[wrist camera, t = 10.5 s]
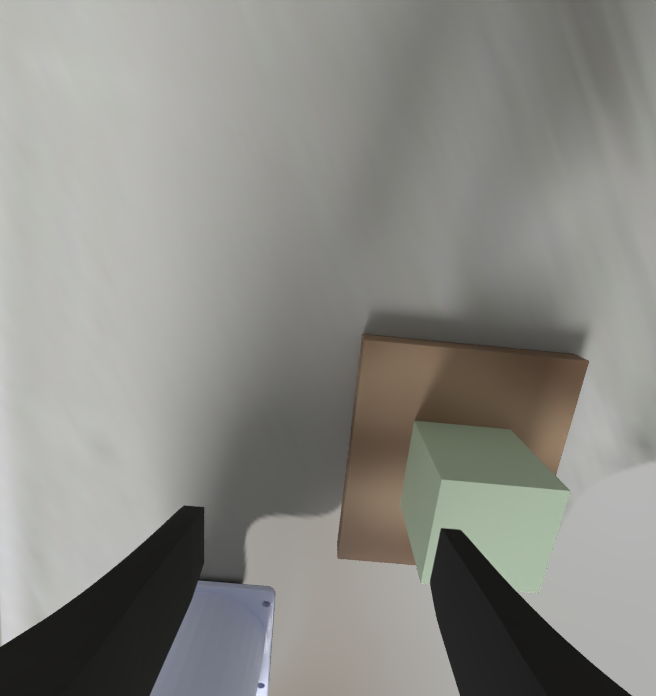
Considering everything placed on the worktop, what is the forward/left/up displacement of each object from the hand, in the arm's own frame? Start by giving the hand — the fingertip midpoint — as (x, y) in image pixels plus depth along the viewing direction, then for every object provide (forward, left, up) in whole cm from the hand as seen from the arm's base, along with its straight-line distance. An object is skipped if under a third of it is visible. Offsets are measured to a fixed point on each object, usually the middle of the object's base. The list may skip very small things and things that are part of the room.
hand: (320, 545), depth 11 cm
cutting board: (-2, -7, -9) cm, 12 cm away
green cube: (-2, -7, -8) cm, 11 cm away
